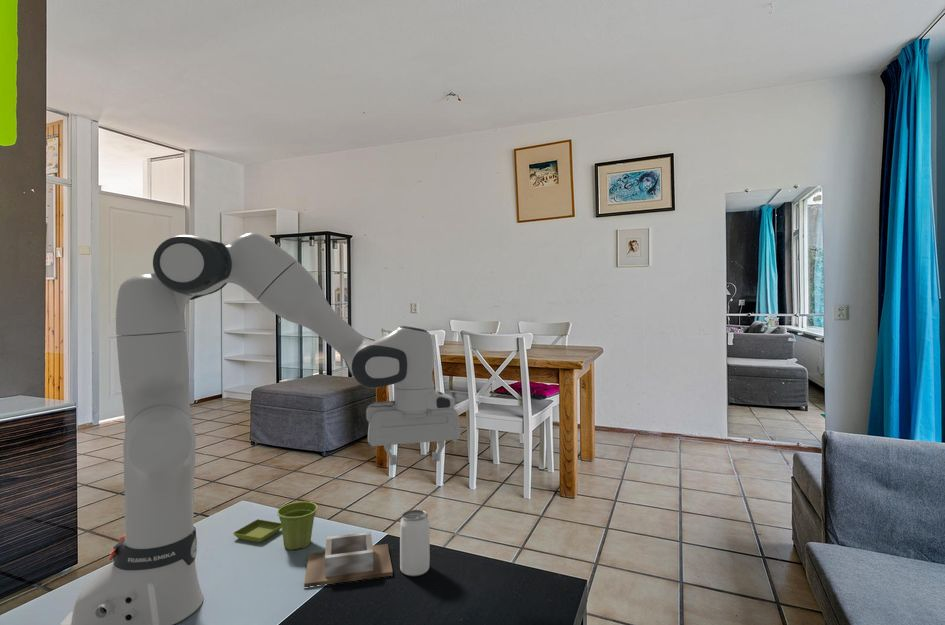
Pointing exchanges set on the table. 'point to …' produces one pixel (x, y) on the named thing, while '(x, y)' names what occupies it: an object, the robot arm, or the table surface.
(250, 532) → the saucer
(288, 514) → the plant pot
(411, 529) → the can
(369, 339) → the robot arm
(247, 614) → the table surface
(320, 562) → the socket board
